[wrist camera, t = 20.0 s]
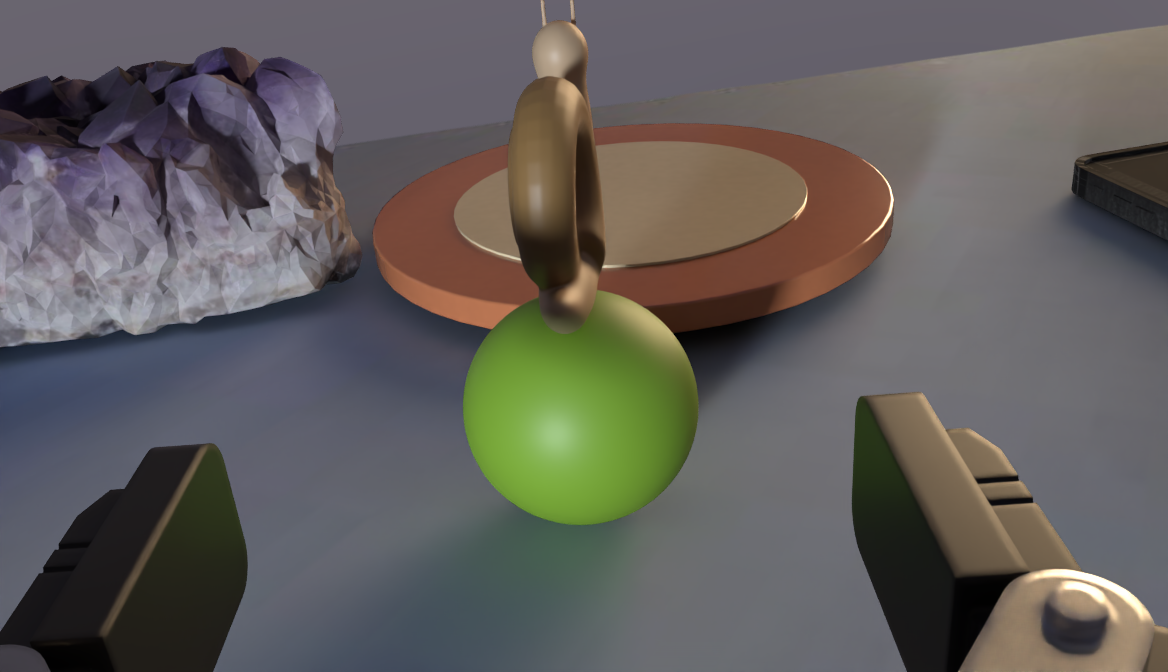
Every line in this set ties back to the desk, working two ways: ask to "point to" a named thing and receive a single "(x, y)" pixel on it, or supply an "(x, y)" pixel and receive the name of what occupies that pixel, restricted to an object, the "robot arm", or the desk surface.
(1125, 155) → the phone
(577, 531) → the desk surface
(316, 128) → the geode
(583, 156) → the snail figurine
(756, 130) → the plate
